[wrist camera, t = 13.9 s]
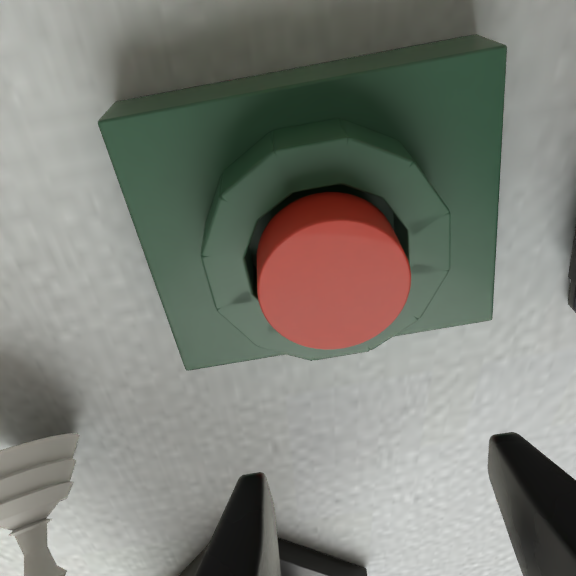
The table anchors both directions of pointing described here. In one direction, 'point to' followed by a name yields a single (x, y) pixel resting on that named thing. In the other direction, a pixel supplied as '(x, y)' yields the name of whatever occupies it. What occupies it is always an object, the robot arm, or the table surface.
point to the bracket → (299, 563)
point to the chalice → (35, 495)
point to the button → (331, 271)
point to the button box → (316, 184)
